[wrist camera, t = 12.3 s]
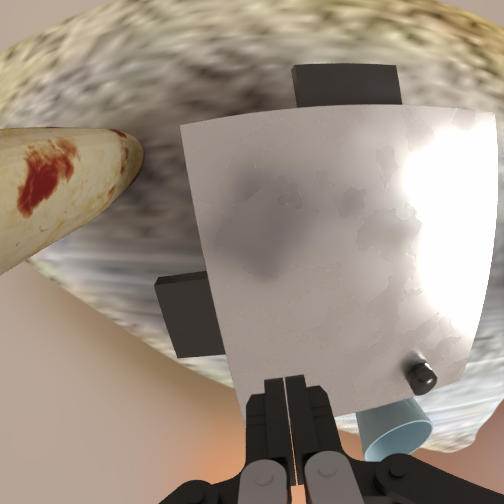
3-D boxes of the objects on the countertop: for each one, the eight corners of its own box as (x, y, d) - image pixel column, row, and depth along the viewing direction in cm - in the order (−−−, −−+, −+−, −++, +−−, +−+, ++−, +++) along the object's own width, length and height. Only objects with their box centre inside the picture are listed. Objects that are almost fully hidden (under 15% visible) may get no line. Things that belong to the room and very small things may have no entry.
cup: (387, 398, 35) (414, 457, 25) (334, 402, 34) (353, 469, 25) (408, 354, 32) (445, 415, 22) (351, 357, 32) (380, 427, 22)
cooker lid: (484, 113, 14) (509, 113, 11) (455, 372, 21) (468, 389, 18) (128, 139, 14) (109, 140, 12) (207, 422, 21) (205, 446, 19)
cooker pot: (408, 88, 22) (478, 74, 13) (407, 333, 31) (448, 391, 22) (203, 101, 23) (176, 78, 13) (249, 362, 32) (250, 437, 22)
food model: (91, 227, 26) (-66, 355, 7) (56, 170, 24) (-124, 237, 5) (174, 167, 24) (6, 253, 6) (135, 104, 22) (-65, 70, 4)
